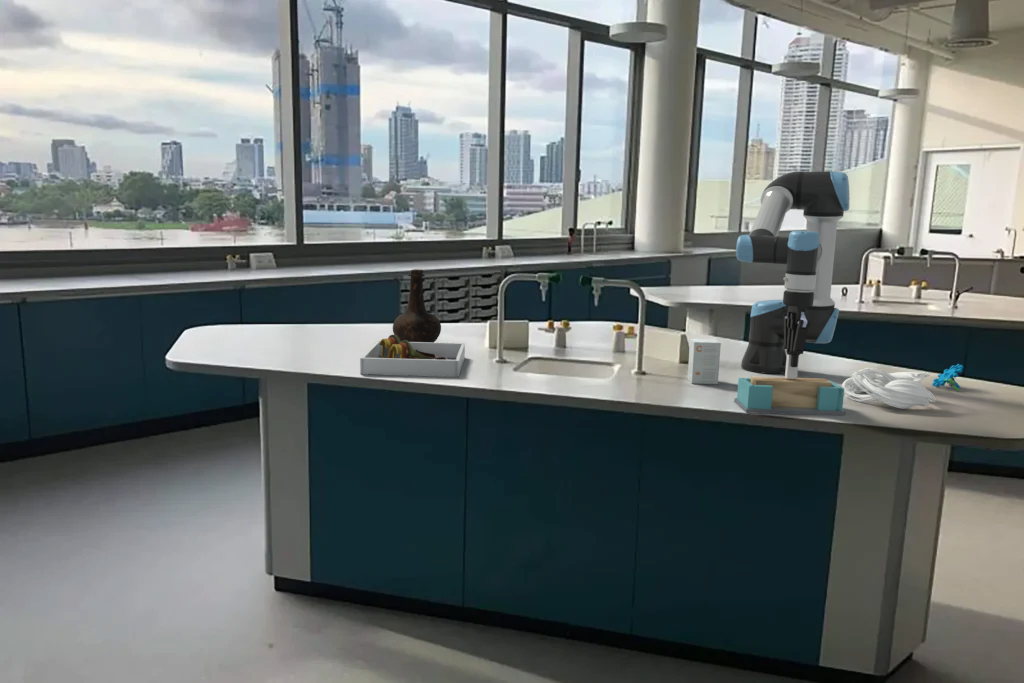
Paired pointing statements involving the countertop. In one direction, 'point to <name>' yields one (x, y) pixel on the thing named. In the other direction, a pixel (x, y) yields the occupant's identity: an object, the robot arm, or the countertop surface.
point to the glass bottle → (416, 315)
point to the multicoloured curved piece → (403, 350)
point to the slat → (793, 390)
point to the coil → (889, 388)
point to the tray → (416, 361)
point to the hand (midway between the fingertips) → (790, 377)
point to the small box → (704, 361)
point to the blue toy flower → (949, 377)
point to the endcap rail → (761, 400)
